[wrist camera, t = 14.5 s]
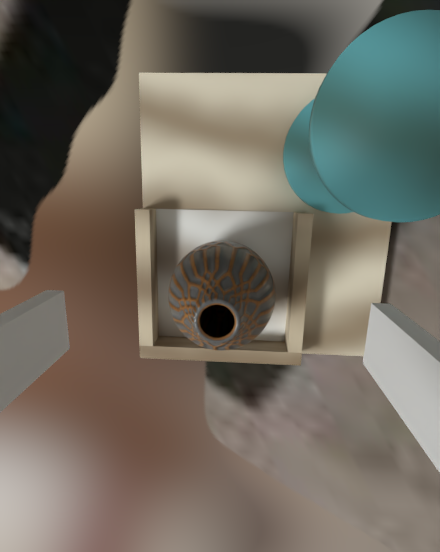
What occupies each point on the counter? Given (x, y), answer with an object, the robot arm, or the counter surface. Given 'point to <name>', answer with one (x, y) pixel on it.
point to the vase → (221, 295)
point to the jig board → (291, 185)
